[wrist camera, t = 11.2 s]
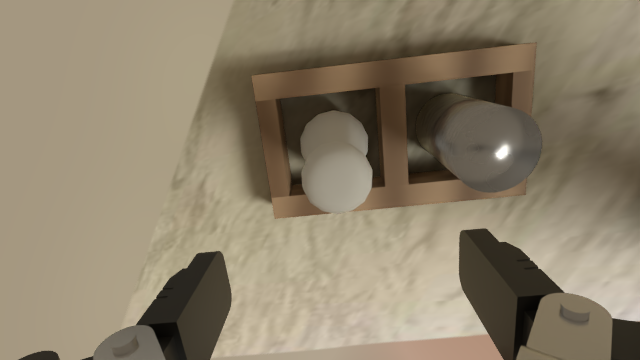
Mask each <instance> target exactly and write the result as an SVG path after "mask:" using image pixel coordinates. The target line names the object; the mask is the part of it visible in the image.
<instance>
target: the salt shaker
mask: <svg viewBox="0 0 640 360" xmlns="http://www.w3.org/2000/svg"><path fill="white" fill-rule="evenodd" d="M300 142H301V154H302V156H303V158H304V159H305V161H306V162H305V164H304V166H303V169H302V171H301V173H302V187H303V190H304V192H305V194H306V196H307V197H308V199H309V201H310V203H312V204H313V205H314V206H316V207H317V208H319V209H320V210H322V211H324V212H329V213H334V214H341V213H345V212H349V211H353V210H354V209H355V208H357V207H358V206H359V205H361V204H362V203H364V202H365V200H366V198H367V196H368V194H369V192H370V190H371V188H372V168H371V166H370V164H369V162H368V160H367V158H366V154H367V152H368V135H367V133H366V131H365V129H364V127H363V125H362V123H361V122H360V121H358V120H357V119H356V118H355V117H353V116H352V115H351V114H349V113H345V112H340V111H335V110H332V111H328V112H325V113H321V114H318V115H317V116H316V117H314V118H313V119H312V120H311V121H310V122H308V123H307V124H306V127H305V129H304V131H303V133H302V136H301V138H300Z"/></svg>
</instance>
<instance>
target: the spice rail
mask: <svg viewBox="0 0 640 360" xmlns="http://www.w3.org/2000/svg"><path fill="white" fill-rule="evenodd" d="M536 44H537V43H526V44H516V45H507V46H499V47H490V48H481V49H473V50H464V51H456V52H447V53H439V54H430V55H421V56H413V57H404V58H396V59H387V60H379V61H370V62H361V63H353V64H344V65H336V66H327V67H318V68H310V69H301V70H293V71H284V72H276V73H267V74H258V75H253V76H251V77H252V83H253V89H254V95H255V101H256V107H257V114H258V120H259V126H260V132H261V138H262V144H263V150H264V156H265V162H266V168H267V174H268V180H269V186H270V193H271V199H272V205H273V211H274V217H275V219H277V218H287V217H298V216H308V215H319V214H329V212H324V211H322V210H320V209H319V208H317V207H316V206H314V205H313V204H312V203H310V201H309V199H308V197H307V196H306V194H305V192H304V190H303V187H302V184H298V185H292V178H291V171H290V164H289V157H288V150H287V143H286V136H285V129H284V122H283V115H282V108H281V101H280V99H281V98H290V97H299V96H308V95H317V94H326V93H334V92H343V91H352V90H361V89H370V88H375V97H376V113H377V129H378V145H379V162H380V176H378V177H372V188H371V190H370V192H369V194H368V196H367V198H366V200H365V202H364V203H362V204H361V205H359V206H358V207H357V208H355V209H354V210H353V211H361V210H371V209H382V208H392V207H403V206H413V205H424V204H434V203H445V202H456V201H466V200H477V199H487V198H498V197H508V196H519V195H526V183H527V178H526V179H524V180H523V181H522V182H521V183H519V184H518V185H516V186H514V187H512V188H510V189H508V190H505V191H501V192H495V193H486V192H480V191H477V190H474V189H472V188H470V187H468V186H467V185H466V184H464V183H463V182H462V181H461V180H460V179H459V178H457V177H456V176H455V175H454V174H453V173H452V172H451V171H450V170H439V171H428V172H418V173H408V155H407V127H406V99H405V84H414V83H423V82H432V81H441V80H450V79H459V78H468V77H476V76H485V75H494V74H496V89H495V104H499V105H504V106H508V107H512V108H516V109H519V110H521V111H523V112H525V113H527V114H528V115H529V116H530V117H531V113H532V99H533V85H534V72H535V58H536ZM349 212H350V211H349Z"/></svg>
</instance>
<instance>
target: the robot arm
mask: <svg viewBox="0 0 640 360" xmlns="http://www.w3.org/2000/svg"><path fill="white" fill-rule="evenodd" d="M459 276H460V282H461V286H462V289H463V291H464V293H465V295H466V296H467V298H468V300H469V301H470V303H471V305H472V307H473V308H474V310H475V312H476V313H477V315H478V317H479V318H480V320H481V322H482V324H483V325H484V327H485V329H486V330H487V332H488V334H489V335H490V337H491V339H492V340H493V342H494V344H495V346H496V347H497V349H498V351H499V352H500V354H501V356H502V357H503V359H504V360H640V322H635V321H627V320H619V319H614V318H612V317H611V315H610V314H609V312H608V311H607V310H606V309H605V308H604V307H602V306H601V305H599V304H598V303H596V302H594V301H592V300H590V299H588V298H585V297H582V296H579V295H575V294H569V293H564V292H563V291H562V290H561V289H560V288H559V287H558V286H557V285H556V284H555V283H554V282H553V281H552V280H551V279H550V278H549V277H548V276H547V275H546V274H545V273H544V272H543V271H542V270H541V269H538V266H537V265H536V264H535V263H534V262H533V261H530V258H529V257H528V256H527V255H526V254H525V253H524V252H523V251H521V250H520V249H519V248H517V247H515V246H513V245H511V244H509V243H507V242H499V241H498V240H497V239H496V238H495V237H494V236H493V235H492V234H491V233H490V232H489V231H488V230H487V229H485V228H484V229H473V230H462V231H461V233H460V242H459ZM230 307H231V288H230V284H229V279H228V275H227V270H226V265H225V261H224V257H223V254H222V253H221V252H220V251H216V252H205V253H198V254H197V255H196V256H195V257H194V259H193V260H192V262H191V263H190V265H189V266H188V268H186V269H182V270H180V271H179V272H178V273H176V274H175V275H174V276H172V277H171V278H170V279H169V280H168V282H167V283H166V285H165V286H164V287H163V290H161V291H160V293H159V294H158V295H157V297H156V299H155V300H154V301H153V302H152V304H151V305H150V306H149V308H148V309H147V310H146V312H145V313H144V315H143V316H142V317H141V319H140V320H139V321H138V323H137V324H136V325H135V326H131V327H127V328H125V329H122V330H120V331H118V332H116V333H114V334H112V335H111V336H109V337H108V338H107V339H105V340H104V341H103V342H102V343H101V344H100V345H99V346H98V347H97V349H96V350H95V352H94V355H93V356H92V357H89V358H86V359H82V360H210V358H211V355H212V353H213V350H214V348H215V345H216V343H217V340H218V338H219V335H220V333H221V330H222V328H223V325H224V323H225V320H226V318H227V315H228V313H229V310H230ZM19 360H60V359H59V356H58V354H57V353H56V352H53V351H41V352H37V353H33V354H30V355H28V356H25V357H23V358H21V359H19Z"/></svg>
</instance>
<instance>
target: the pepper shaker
mask: <svg viewBox="0 0 640 360" xmlns="http://www.w3.org/2000/svg"><path fill="white" fill-rule="evenodd" d="M415 131H416V136H417V139H418V141H419V143H420V144H421V145H422V146H423V147H424V148H425V149H426V150H427V151H428V152H429V153H430V154H431V155H433V156H434V157H435V158H436V159H437V160H438V161H439V162H440V163H442V164H443V165H444V166H445V167H446V168H447V169H448V170H450V171H451V172H452V173H453V174H454V175H455V176H456V177H457V178H459V179H460V180H461V181H462V182H463V183H464V184H466V185H467V186H468V187H470V188H472V189H474V190H477V191H480V192H486V193H495V192H501V191H505V190H508V189H510V188H512V187H514V186H516V185H518V184H519V183H521V182H522V181H523V180H524V179H526V178H527V177H528V176H529V175H530V173H531V172H532V171H533V169H534V168H535V166H536V165H537V163H538V160H539V158H540V154H541V149H542V138H541V133H540V130H539V128H538V125H537V124H536V122H535V121H534V120H533V119H532V118H531V117H530V116H529V115H528V114H527V113H525V112H523V111H521V110H519V109H516V108H512V107H508V106H504V105H499V104H495V103H491V102H487V101H483V100H479V99H475V98H471V97H467V96H463V95H459V94H453V93H446V94H441V95H438V96H436V97H434V98H432V99H431V100H429V101H428V102H427V103H426V104H425V105H424V106H423V107H422V109H421V110H420V112H419V114H418V116H417V119H416V124H415Z"/></svg>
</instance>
